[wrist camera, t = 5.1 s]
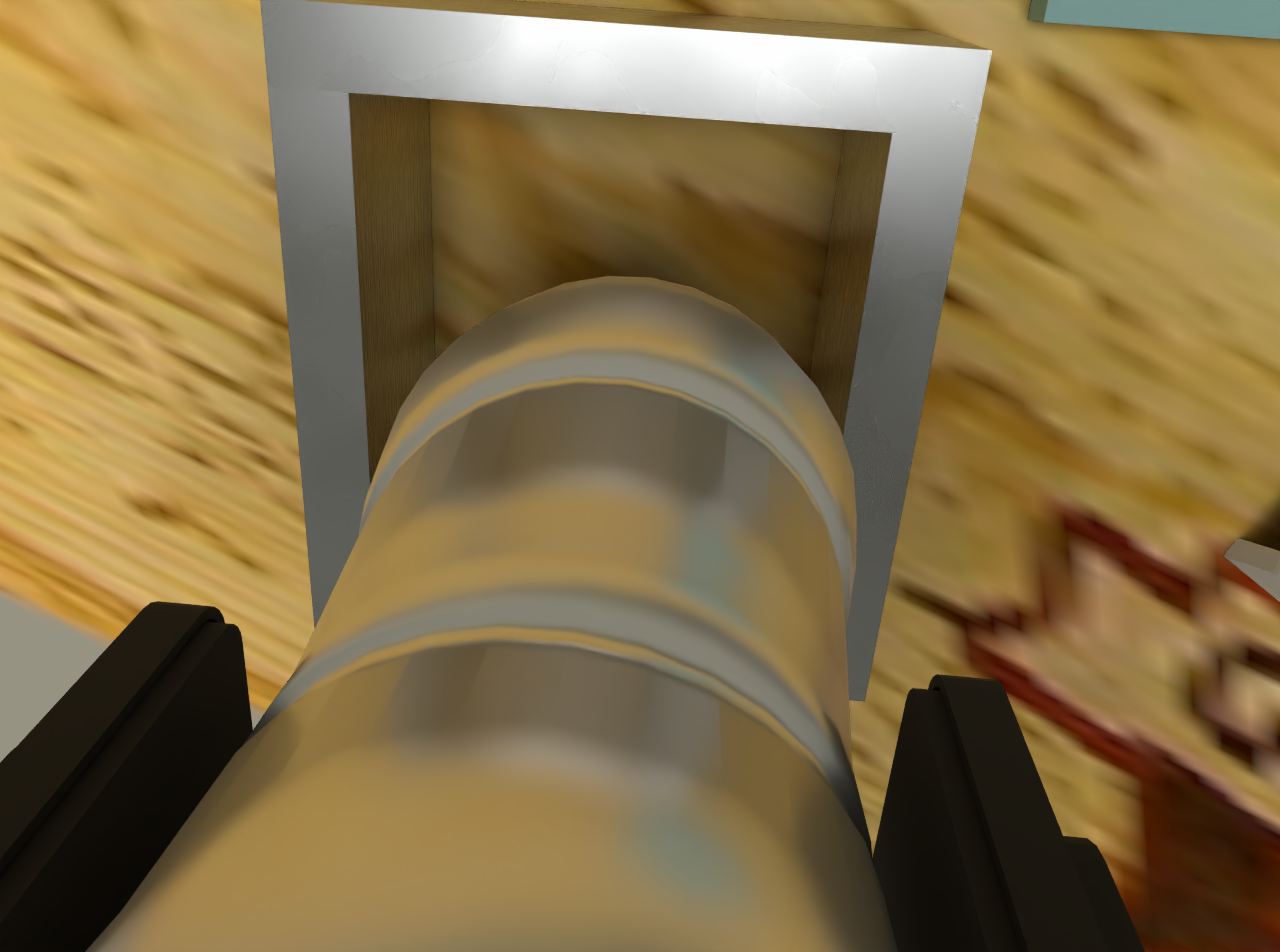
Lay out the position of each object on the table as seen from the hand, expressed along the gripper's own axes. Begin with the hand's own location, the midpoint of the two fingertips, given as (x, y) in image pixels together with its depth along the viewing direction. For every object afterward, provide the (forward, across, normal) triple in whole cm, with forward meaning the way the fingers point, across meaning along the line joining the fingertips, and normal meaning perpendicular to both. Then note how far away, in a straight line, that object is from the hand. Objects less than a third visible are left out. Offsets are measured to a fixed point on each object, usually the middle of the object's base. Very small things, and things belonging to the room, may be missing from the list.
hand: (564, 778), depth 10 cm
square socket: (+14, +1, 0) cm, 14 cm away
